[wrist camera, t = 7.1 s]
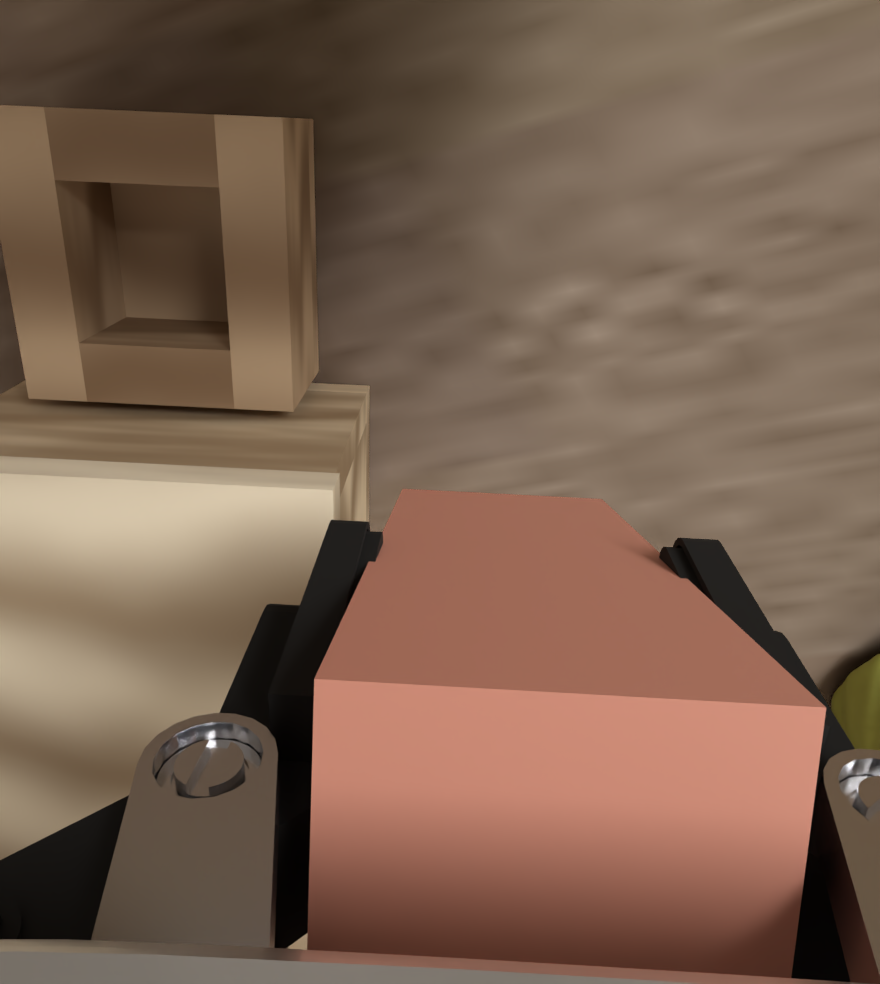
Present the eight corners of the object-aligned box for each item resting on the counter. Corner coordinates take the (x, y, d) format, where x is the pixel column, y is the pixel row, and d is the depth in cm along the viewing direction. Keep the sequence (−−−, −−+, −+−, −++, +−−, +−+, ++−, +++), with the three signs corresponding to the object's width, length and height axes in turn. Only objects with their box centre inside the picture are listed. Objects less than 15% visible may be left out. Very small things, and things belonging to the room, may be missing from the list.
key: (402, 488, 16) (313, 679, 6) (601, 499, 16) (825, 707, 6) (394, 677, 17) (303, 1119, 7) (586, 688, 17) (768, 1150, 7)
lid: (-118, 449, 23) (-267, 531, 19) (339, 473, 23) (305, 561, 19) (8, 928, 32) (-72, 1067, 27) (345, 948, 32) (323, 1092, 27)
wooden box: (-1, 105, 28) (-195, 96, 20) (370, 121, 28) (328, 119, 20) (109, 757, 40) (16, 918, 32) (368, 772, 40) (341, 937, 32)
